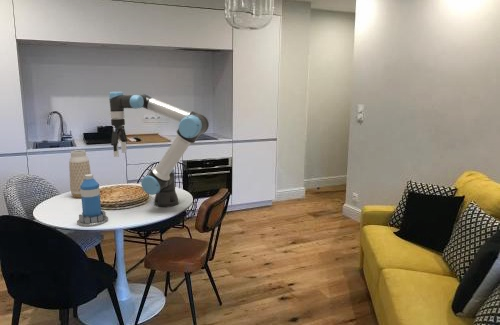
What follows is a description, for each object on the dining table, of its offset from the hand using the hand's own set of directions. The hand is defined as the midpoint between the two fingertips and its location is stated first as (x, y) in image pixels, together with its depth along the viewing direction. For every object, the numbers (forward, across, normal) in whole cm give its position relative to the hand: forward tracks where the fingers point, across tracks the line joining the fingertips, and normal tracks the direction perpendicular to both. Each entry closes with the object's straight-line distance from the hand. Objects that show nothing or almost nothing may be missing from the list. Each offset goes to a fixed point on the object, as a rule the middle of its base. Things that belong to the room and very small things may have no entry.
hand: (120, 154), depth 236 cm
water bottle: (+32, +25, -9) cm, 42 cm away
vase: (+33, -26, -37) cm, 56 cm away
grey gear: (+33, +25, -9) cm, 42 cm away
